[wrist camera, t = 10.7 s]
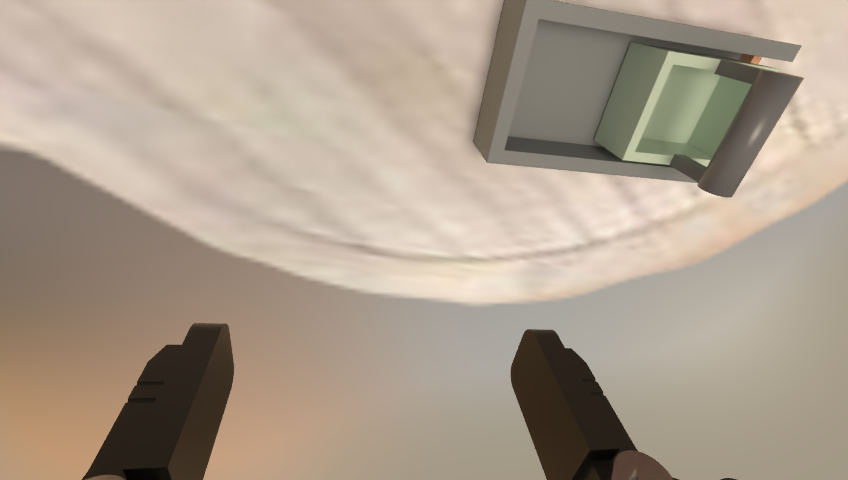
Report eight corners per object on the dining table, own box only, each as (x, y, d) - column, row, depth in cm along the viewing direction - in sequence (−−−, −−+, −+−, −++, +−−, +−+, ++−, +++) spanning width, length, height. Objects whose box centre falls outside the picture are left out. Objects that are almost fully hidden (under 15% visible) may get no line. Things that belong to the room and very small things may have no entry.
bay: (505, -7, 32) (527, -4, 28) (750, 37, 36) (801, 45, 32) (473, 142, 38) (486, 162, 34) (685, 164, 42) (720, 185, 38)
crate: (630, 41, 34) (731, 66, 25) (732, 58, 36) (860, 87, 27) (593, 139, 38) (667, 191, 29) (685, 150, 40) (782, 202, 31)
